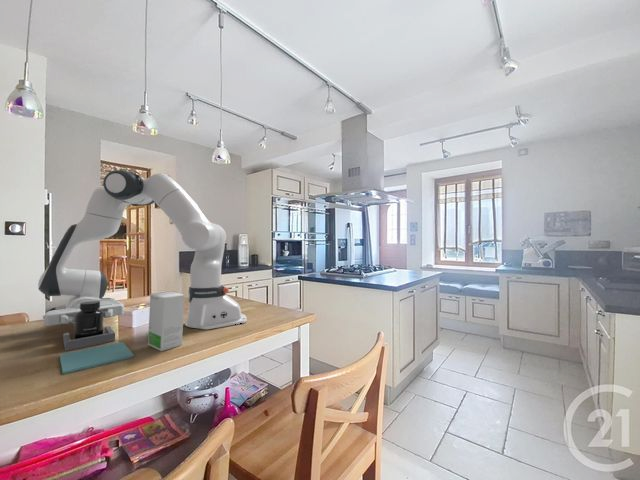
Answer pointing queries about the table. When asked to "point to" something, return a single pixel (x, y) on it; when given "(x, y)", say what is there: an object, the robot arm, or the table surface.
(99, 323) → the supplement bottle
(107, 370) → the table surface
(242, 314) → the robot arm
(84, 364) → the mat
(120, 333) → the table surface
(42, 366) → the table surface
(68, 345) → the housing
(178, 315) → the skincare box
